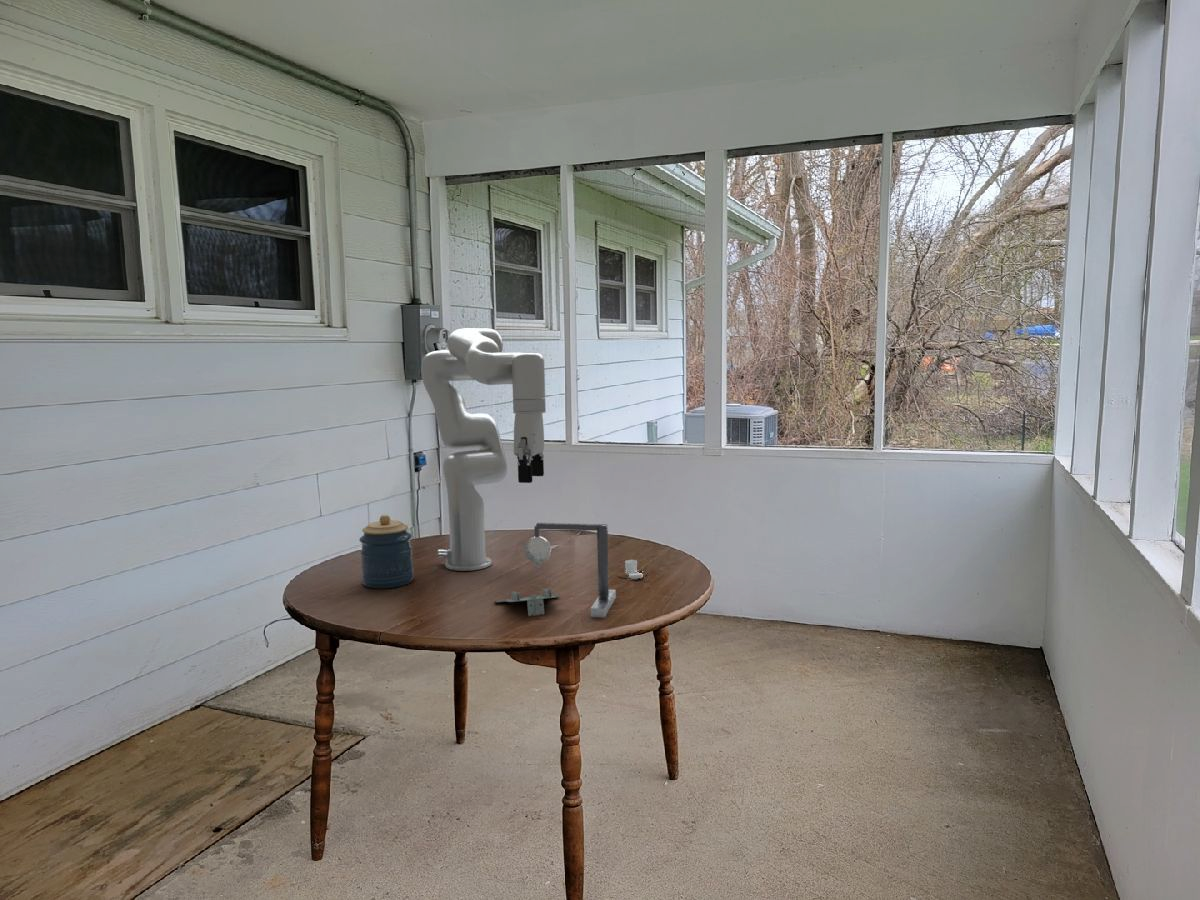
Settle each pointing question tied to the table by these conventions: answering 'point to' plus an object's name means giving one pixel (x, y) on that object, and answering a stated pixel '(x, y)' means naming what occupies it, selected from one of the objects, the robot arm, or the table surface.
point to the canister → (386, 554)
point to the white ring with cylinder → (632, 569)
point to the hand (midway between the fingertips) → (531, 479)
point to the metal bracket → (532, 601)
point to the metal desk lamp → (540, 550)
